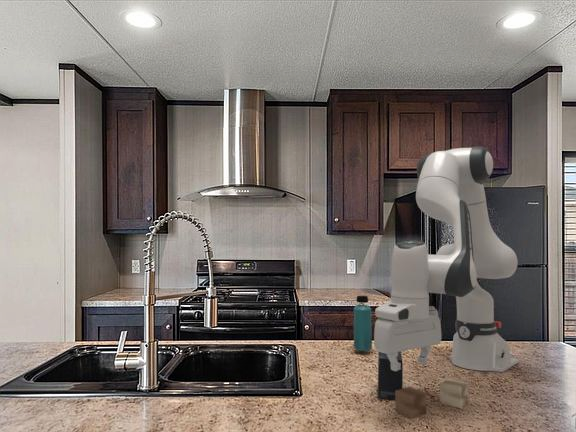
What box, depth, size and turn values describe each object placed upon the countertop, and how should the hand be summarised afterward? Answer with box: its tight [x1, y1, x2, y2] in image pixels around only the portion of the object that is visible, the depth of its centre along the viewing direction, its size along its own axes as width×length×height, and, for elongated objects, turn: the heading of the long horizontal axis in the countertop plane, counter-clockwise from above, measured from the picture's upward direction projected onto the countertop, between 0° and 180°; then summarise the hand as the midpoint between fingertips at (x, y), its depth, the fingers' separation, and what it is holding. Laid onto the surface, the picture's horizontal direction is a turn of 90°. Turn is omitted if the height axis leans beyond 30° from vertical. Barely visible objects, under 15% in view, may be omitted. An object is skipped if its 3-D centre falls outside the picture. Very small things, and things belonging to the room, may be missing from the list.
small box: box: [377, 351, 404, 400], centre depth 122 cm, size 11×6×10 cm, turn 168°
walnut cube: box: [394, 386, 427, 419], centre depth 109 cm, size 5×5×5 cm
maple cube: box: [439, 378, 469, 409], centre depth 115 cm, size 5×5×5 cm
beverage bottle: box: [353, 295, 373, 352], centre depth 162 cm, size 6×7×20 cm
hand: (409, 367), depth 109 cm, fingers open, 8 cm apart
